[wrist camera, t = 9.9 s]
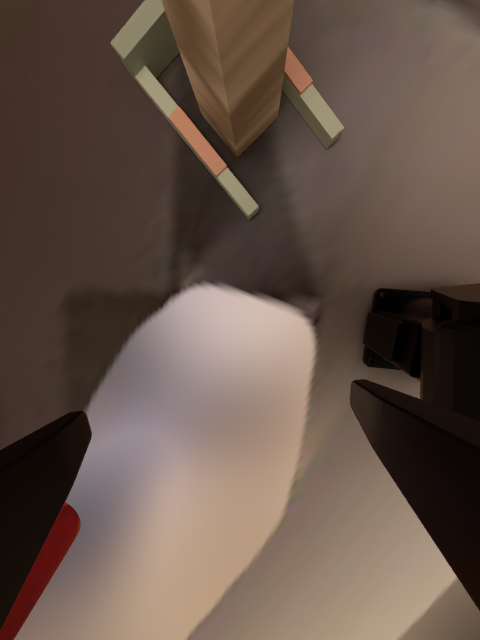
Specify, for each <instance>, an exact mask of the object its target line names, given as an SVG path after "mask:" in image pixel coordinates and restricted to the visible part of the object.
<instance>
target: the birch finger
mask: <svg viewBox="0 0 480 640" xmlns="http://www.w3.org/2000/svg"><path fill="white" fill-rule="evenodd" d="M161 1H162V4H163V7H164V9H165V12H166V15H167V18H168V21H169V23H170V26H171V29H172V32H173V35H174V38H175V40H176V43H177V46H178V49H179V52H180V54H181V57H182V60H183V63H184V66H185V68H186V71H187V74H188V77H189V80H190V83H191V85H192V88H193V91H194V94H195V97H196V99H197V102H198V105H199V108H200V111H201V113H202V115H203V117H204V118H205V119H206V120H207V121H208V123H209V124H210V125H211V126H212V128H213V129H214V130H215V131H216V132H217V134H218V135H219V136H220V137H221V139H222V140H223V141H224V142H225V144H226V145H227V146H228V147H229V148H230V150H231V151H232V152H233V153H234V155H235V156H236V157H237V158H238V157H239V156H240V155H241V154H242V153H243V152H244V151H245V150H246V149H247V148H248V147H249V146H250V145H251V144H252V143H253V142H254V141H255V140H256V139H257V138H258V137H259V136H260V135H261V134H262V133H263V132H264V131H265V130H266V129H267V128H268V127H269V126H270V125H271V124H272V123H273V122H274V121H275V120H276V119H277V118H278V114H279V106H280V99H281V92H282V84H283V77H284V70H285V62H286V55H287V47H288V40H289V33H290V25H291V18H292V11H293V3H294V0H161Z"/></svg>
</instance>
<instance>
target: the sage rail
mask: <svg viewBox="0 0 480 640" xmlns="http://www.w3.org/2000/svg"><path fill="white" fill-rule="evenodd" d="M111 45H112V46H113V48H114V49H115V51H116V52H117V54H118V55H119V57H120V59H121V60H122V62H123V63H124V65H125V66H126V68H127V69H128V71H129V72H130V74H131V76H132V77H133V79H134V80H135V81H136V82H137V83H138V85H139V86H140V87H141V88H142V90H143V91H144V92H145V93H146V95H147V96H148V97H149V98H150V99H151V101H152V102H153V103H154V104H155V106H156V107H157V108H158V109H159V110H160V112H161V113H162V114H163V115H164V117H165V118H166V119H167V120H168V121H169V123H170V124H171V125H172V126H173V128H174V129H175V130H176V131H177V132H178V134H179V135H180V136H181V137H182V139H183V140H184V141H185V142H186V143H187V145H188V146H189V147H190V148H191V150H192V151H193V152H194V153H195V155H196V156H197V157H198V158H199V159H200V161H201V162H202V163H203V164H204V166H205V167H206V168H207V169H208V170H209V172H210V173H211V174H212V175H213V177H214V178H215V179H216V180H217V181H218V183H219V184H220V185H221V186H222V188H223V189H224V190H225V191H226V192H227V194H228V195H229V196H230V197H231V199H232V200H233V201H234V202H235V204H236V205H237V206H238V207H239V208H240V210H241V211H242V212H243V213H244V215H245V216H246V217H247V218H248V219H249V220H250V219H251V218H252V217H253V216H254V215H255V214H256V213H257V212H258V211H259V206H258V205H257V204H256V202H255V201H254V200H253V199H252V197H251V196H250V195H249V194H248V192H247V191H246V190H245V189H244V187H243V186H242V185H241V184H240V182H239V181H238V180H237V179H236V177H235V176H234V175H233V174H232V173H231V171H230V170H229V169H228V168H227V165H226V164H225V163H224V162H223V160H222V159H221V158H220V157H219V155H218V154H217V153H216V152H215V150H214V149H213V148H212V147H211V145H210V144H209V143H208V142H207V140H206V139H205V138H204V137H203V135H202V134H201V133H200V132H199V130H198V129H197V128H196V127H195V126H194V124H193V123H192V122H191V121H190V119H189V118H188V117H187V116H186V114H185V113H184V112H183V111H182V109H181V108H180V107H179V106H177V104H176V103H175V102H174V101H173V99H172V98H171V97H170V96H169V94H168V93H167V92H166V91H165V89H164V88H163V87H162V86H161V84H160V83H159V82H158V81H157V77H158V76H159V75H160V74H161V73H162V72H163V71H164V69H165V68H166V67H167V66H168V65H169V64H170V63H171V61H172V60H173V59H174V58H175V57H176V56H177V55H178V53H179V49H178V46H177V43H176V40H175V38H174V35H173V32H172V29H171V26H170V23H169V21H168V18H167V15H166V12H165V9H164V7H163V4H162V1H161V0H145V1H144V2H143V3H142V4H141V6H140V7H139V8H138V9H137V11H136V12H135V13H134V14H133V16H132V17H131V18H130V19H129V20H128V22H127V23H126V24H125V25H124V27H123V28H122V29H121V30H120V32H119V33H118V34H117V35H116V36H115V38H114V39H113V40H112V41H111ZM312 82H313V80H312V79H311V77H310V76H309V74H308V73H307V72H306V70H305V69H304V68H303V66H302V65H301V63H300V62H299V61H298V59H297V58H296V57H295V55H294V54H293V53H292V51H291V50H290V48H289V47H287V55H286V62H285V70H284V77H283V84H282V91H283V92H284V94H285V95H286V96H287V98H288V99H289V100H290V102H291V103H292V104H293V106H294V107H295V108H296V110H297V111H298V112H299V114H300V115H301V116H302V118H303V119H304V120H305V122H306V123H307V124H308V126H309V127H310V128H311V130H312V131H313V132H314V134H315V135H316V136H317V138H318V139H319V140H320V142H321V143H322V144H323V146H324V147H325V148H326V149H327V148H328V147H329V146H330V145H331V144H333V143H334V142H335V141H336V140H337V139H338V137H339V136H340V134H341V132H342V131H343V129H344V127H343V125H342V124H341V123H340V121H339V120H338V119H337V117H336V116H335V115H334V113H333V112H332V110H331V109H330V108H329V106H328V105H327V104H326V102H325V101H324V100H323V98H322V97H321V95H320V94H319V93H318V91H317V90H316V89H315V87H314V86H313V85H312Z"/></svg>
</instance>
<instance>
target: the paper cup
mask: <svg viewBox="0 0 480 640" xmlns="http://www.w3.org/2000/svg"><path fill="white" fill-rule="evenodd" d="M79 530H80V519H79V516H78V514H77V513H76V511H75V510H74V509H73V508H72V507H71V506H70V505H68V504H67V503H64V505H63V507H62V509H61V511H60V513H59V515H58V517H57V519H56V521H55V523H54V525H53V527H52V529H51V531H50V533H49V535H48V537H47V539H46V541H45V543H44V545H43V547H42V549H41V551H40V553H39V555H38V557H37V559H36V561H35V563H34V565H33V567H32V569H31V571H30V573H29V575H28V577H27V579H26V581H25V583H24V585H23V587H22V589H21V591H20V593H19V595H18V597H17V599H16V601H15V603H14V605H13V607H12V609H11V611H10V613H9V615H8V617H7V619H6V621H5V623H4V625H3V627H2V629H1V631H0V640H14V638H15V637H16V635H17V633H18V632H19V630H20V628H21V627H22V625H23V623H24V622H25V620H26V619H27V617H28V615H29V614H30V612H31V610H32V609H33V607H34V606H35V604H36V602H37V600H38V599H39V597H40V596H41V594H42V593H43V591H44V589H45V588H46V586H47V584H48V583H49V581H50V579H51V578H52V576H53V575H54V573H55V571H56V570H57V568H58V566H59V565H60V563H61V561H62V560H63V558H64V556H65V555H66V553H67V551H68V550H69V548H70V546H71V544H72V543H73V541H74V540H75V538H76V536H77V534H78V532H79Z"/></svg>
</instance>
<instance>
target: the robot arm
mask: <svg viewBox="0 0 480 640" xmlns="http://www.w3.org/2000/svg"><path fill="white" fill-rule="evenodd" d="M382 292H384V296H383V297H382V298H381V297H380V294H381V293H382ZM363 343H364V344H365V350H364V356H363V362H364V364H366V365H367V366H368V367H376V368H387V369H397V370H403V371H404V372H406V373H407V374H408V375H410V376H411V377H414V378H416V379H417V380H419V381H420V399H418V398H415V397H412V396H410V395H407V394H404V393H401V392H399V391H396V390H393V389H390V388H387V387H385V386H382V385H379V384H376V383H373V382H371V381H368V380H365V379H361V380H354V381H352V383H351V394H350V404H351V408H352V410H353V412H354V414H355V416H356V418H357V419H358V421H359V423H360V425H361V427H362V429H363V431H364V433H365V435H366V437H367V439H368V440H369V442H370V444H371V446H372V448H373V449H374V451H375V453H376V454H377V456H378V457H379V459H380V460H381V462H382V463H383V465H384V466H385V468H386V469H387V471H388V472H389V474H390V475H391V477H392V479H393V480H394V482H395V483H396V485H397V486H398V488H399V489H400V491H401V492H402V494H403V495H404V497H405V498H406V500H407V501H408V503H409V504H410V506H411V507H412V509H413V510H414V512H415V513H416V515H417V517H418V518H419V520H420V521H421V523H422V524H423V526H424V527H425V529H426V530H427V532H428V533H429V535H430V536H431V538H432V539H433V541H434V542H435V544H436V545H437V547H438V548H439V550H440V551H441V553H442V555H443V556H444V558H445V559H446V561H447V562H448V564H449V565H450V567H451V568H452V570H453V571H454V573H455V574H456V576H457V577H458V579H459V580H460V582H461V583H462V585H463V586H464V588H465V589H466V591H467V592H468V594H469V595H470V597H471V599H472V600H473V602H474V603H475V605H476V606H477V607H478V609H479V611H480V283H478V284H469V285H460V286H451V287H441V288H432V289H431V292H423V291H410V290H398V289H385V288H380V289H378V290H377V291H376V292H375V294H374V300H373V306H372V311H371V312H370V313H369V314H368V319H367V324H366V330H365V336H364V341H363ZM370 358H372V361H371V362H369V363H368V360H369V359H370ZM91 435H92V432H91V428H90V425H89V421H88V418H87V415H86V413H85V412H84V411H75V412H70V413H68V414H66V415H64V416H62V417H60V418H58V419H57V420H55V421H53V422H51V423H49V424H47V425H46V426H44V427H42V428H40V429H38V430H36V431H35V432H33V433H31V434H29V435H27V436H25V437H24V438H22V439H20V440H18V441H16V442H14V443H13V444H11V445H9V446H7V447H5V448H3V449H2V450H0V631H1V629H2V627H3V625H4V623H5V621H6V619H7V617H8V615H9V613H10V611H11V609H12V607H13V605H14V603H15V601H16V599H17V597H18V595H19V593H20V591H21V589H22V587H23V585H24V583H25V581H26V579H27V577H28V575H29V573H30V571H31V569H32V567H33V565H34V563H35V561H36V559H37V557H38V555H39V553H40V551H41V549H42V547H43V545H44V543H45V541H46V539H47V537H48V535H49V533H50V531H51V529H52V527H53V525H54V523H55V521H56V519H57V517H58V515H59V513H60V511H61V509H62V507H63V505H64V503H65V501H66V499H67V497H68V495H69V492H70V490H71V488H72V486H73V484H74V481H75V479H76V477H77V474H78V471H79V469H80V466H81V463H82V461H83V458H84V456H85V453H86V451H87V448H88V445H89V443H90V440H91Z"/></svg>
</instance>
